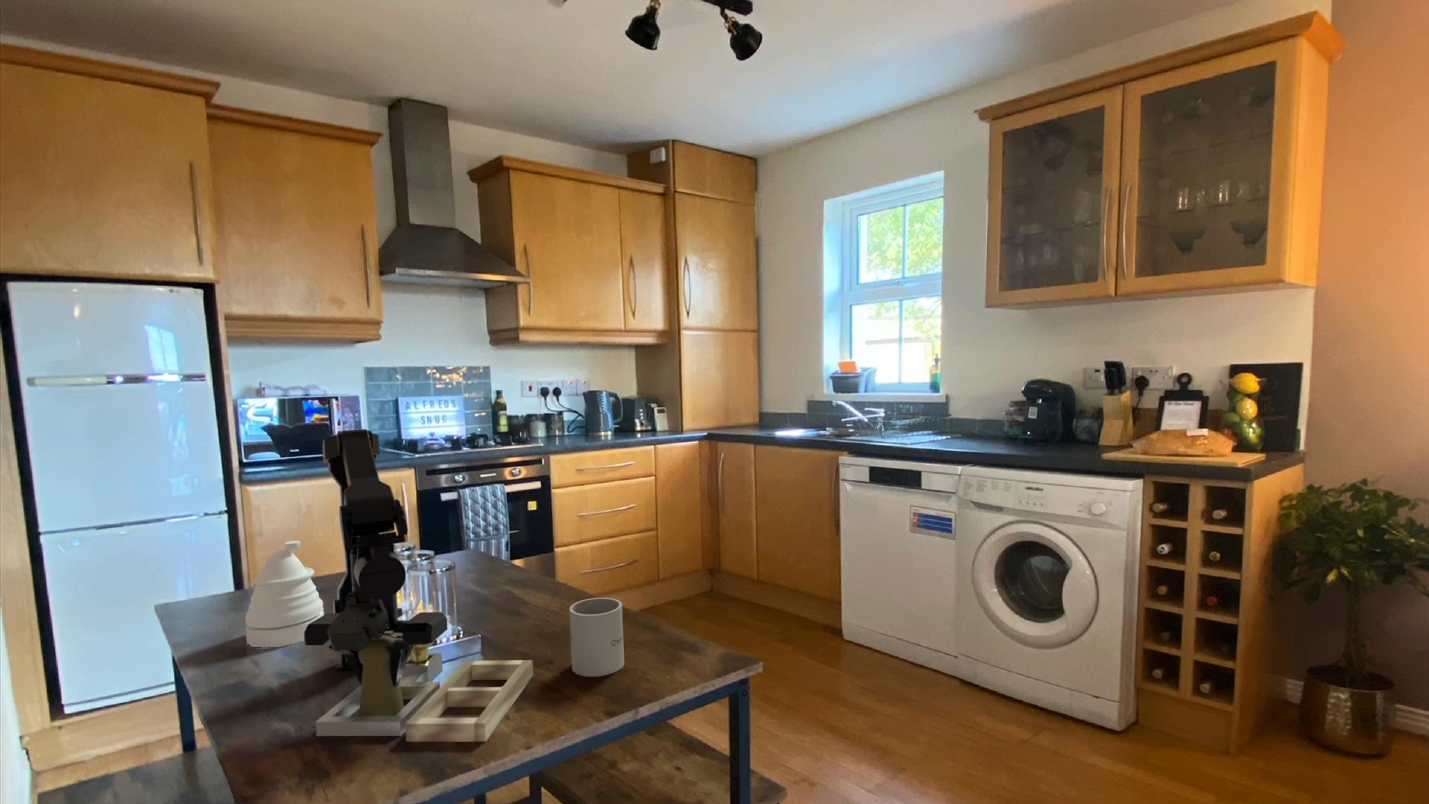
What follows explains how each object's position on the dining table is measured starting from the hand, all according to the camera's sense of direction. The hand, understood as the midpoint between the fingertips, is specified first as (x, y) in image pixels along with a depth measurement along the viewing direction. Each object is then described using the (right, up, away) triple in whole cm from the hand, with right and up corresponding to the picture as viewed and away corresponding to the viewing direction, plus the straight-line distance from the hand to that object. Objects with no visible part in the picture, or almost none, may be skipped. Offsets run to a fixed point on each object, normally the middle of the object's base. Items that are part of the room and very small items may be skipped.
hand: (380, 685), depth 102 cm
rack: (+13, -4, +2) cm, 14 cm away
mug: (+30, -3, +16) cm, 34 cm away
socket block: (0, -4, +4) cm, 6 cm away
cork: (0, -4, 0) cm, 4 cm away
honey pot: (-34, -4, +33) cm, 48 cm away
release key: (+1, -3, +12) cm, 12 cm away
